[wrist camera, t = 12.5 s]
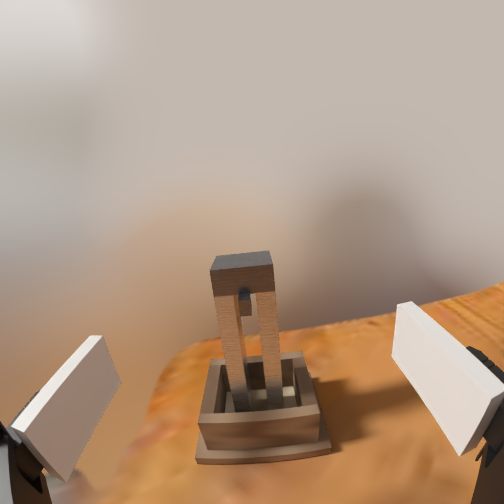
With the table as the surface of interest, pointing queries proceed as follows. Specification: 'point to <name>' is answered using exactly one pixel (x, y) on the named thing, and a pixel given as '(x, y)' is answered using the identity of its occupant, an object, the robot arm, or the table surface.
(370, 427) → the table surface
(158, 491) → the table surface
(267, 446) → the box
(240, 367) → the steel tongs
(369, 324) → the table surface
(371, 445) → the table surface
